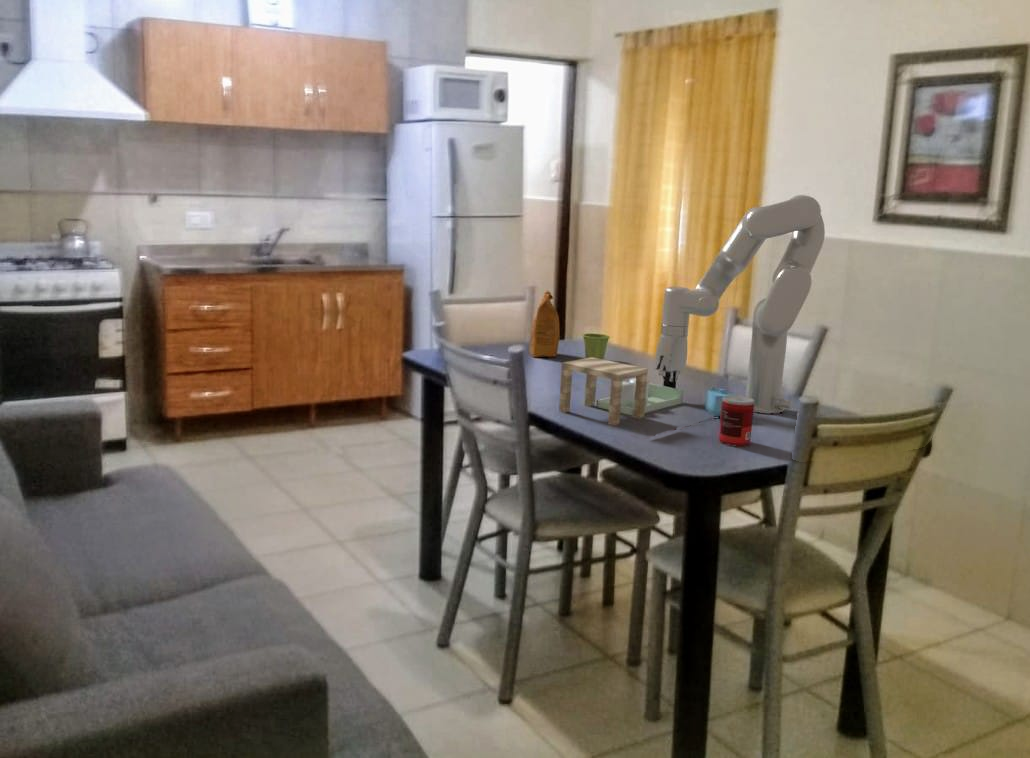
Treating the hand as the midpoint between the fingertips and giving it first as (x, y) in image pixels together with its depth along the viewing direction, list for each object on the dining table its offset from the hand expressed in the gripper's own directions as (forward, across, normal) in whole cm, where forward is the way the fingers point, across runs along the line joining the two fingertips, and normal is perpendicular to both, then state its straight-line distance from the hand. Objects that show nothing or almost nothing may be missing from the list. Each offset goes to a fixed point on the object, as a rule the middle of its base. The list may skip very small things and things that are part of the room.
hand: (668, 394), depth 280 cm
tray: (+2, +14, 0) cm, 15 cm away
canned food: (+2, +24, +35) cm, 43 cm away
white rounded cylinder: (+1, +23, 0) cm, 23 cm away
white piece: (+1, +16, 0) cm, 16 cm away
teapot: (+2, +3, +18) cm, 18 cm away
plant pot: (+2, -31, -50) cm, 59 cm away
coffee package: (+2, -22, -66) cm, 70 cm away
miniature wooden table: (+2, +32, 0) cm, 32 cm away
